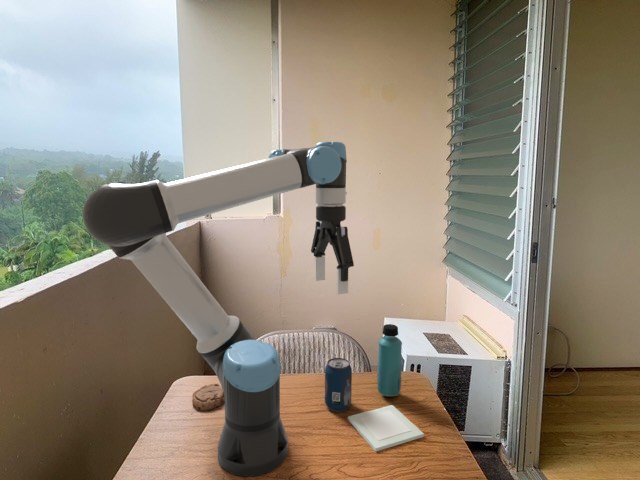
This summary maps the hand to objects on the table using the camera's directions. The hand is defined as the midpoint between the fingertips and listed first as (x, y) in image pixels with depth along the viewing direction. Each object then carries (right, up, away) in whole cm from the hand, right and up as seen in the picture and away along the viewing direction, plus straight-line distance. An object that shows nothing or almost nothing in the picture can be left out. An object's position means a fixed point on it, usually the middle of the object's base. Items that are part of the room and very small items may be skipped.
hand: (330, 286), depth 108 cm
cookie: (-32, -31, +3) cm, 45 cm away
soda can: (+2, -31, +1) cm, 31 cm away
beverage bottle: (+16, -31, +6) cm, 35 cm away
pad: (+13, -33, -9) cm, 36 cm away
